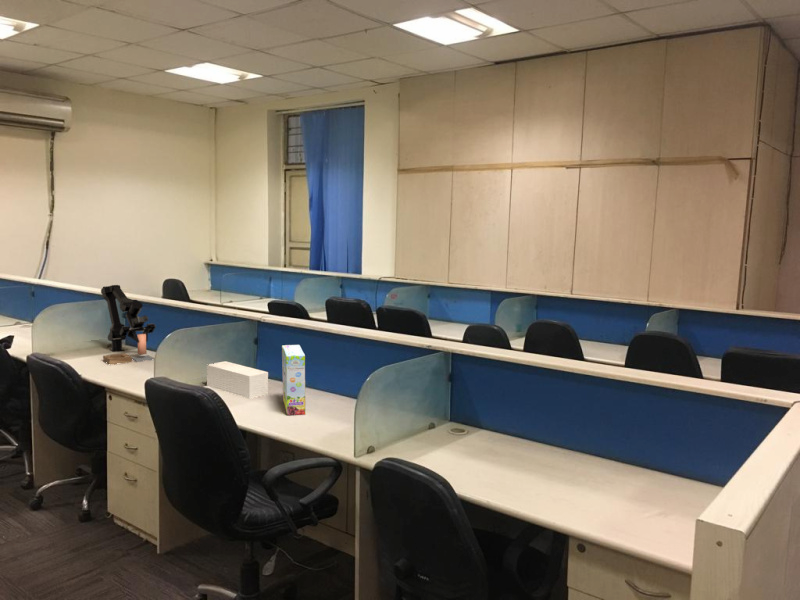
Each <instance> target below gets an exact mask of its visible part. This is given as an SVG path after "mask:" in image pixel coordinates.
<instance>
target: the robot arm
mask: <svg viewBox="0 0 800 600" xmlns="http://www.w3.org/2000/svg"><path fill="white" fill-rule="evenodd" d="M100 294H101V295H102V298H103V299H104V300H105V301H106V304H107V309H108V313H109V317H110V318H109V319H110V321H111V322H110V323H111V326H110V328H109V333H108V335H107V340H108V341H109V342H111V348H110V349H109V350H110V351H111V352H121V351H125V349H124V348H123V341H125V340H126V338H127V337H129V338H131V339H132V340H134V341H135V342H136V343H137V344H138V343H139V339H138V337H137V333H136V332H142V334H146V343H147V342H148V341H149V340H148V339H149V336H148V335H149V334H153V333H154V331H155V329H156V327H157V326H156V325H155V323H147V322H148V321H149V317H148V316H147V315H143V316H138V315H139V314H140V313H141V311H142V308H143V307H144V305H143V303H142V302H140V301H138V299H131V298H128V297H127V296H126V293H124V291H123V290H122V288H121V286H120V284H119V285H118V284H112V285H108V286H107V285H106V286H102V287H101V289H100ZM116 300H117V301H118V302H119V309H120V311H121V312H122V313H125V316H124V318H125V319H127V321H128V326H127V325H126V326H125V324H123V323H122V322H121V318H120V315H119V310H118V305H117V301H116ZM145 323H147V324H146V325H145ZM144 325H145V326H144Z"/></svg>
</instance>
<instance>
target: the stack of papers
mask: <svg viewBox="0 0 800 600" xmlns="http://www.w3.org/2000/svg"><path fill="white" fill-rule="evenodd" d="M207 365H208V364H207ZM207 365H206V387H209V388H213V389H216V390H218V389H219V390H220V391H222V392H225V391H226V392H225V393H228V392H229V394H231V393H233V394H232V395H235V394H236V395H235V396H238V395H239V396H238V397H241V396H242V397H241V398H244V397H245V399H248V400H251V398H252V399H254V397H256V398H259V397H258V396H260V397H263V396H262V395H264V396H267V395H269V380H268V378H269V372H268V371H265V370H261V369H257V368H253V367H249V366H245V365H243V364H238V363H234V362H230V361H220V362H219V361H218V362H214V364H213V363H209V365H208V366H207ZM207 374H208V375H207ZM219 390H218V391H219ZM266 394H267V395H266Z"/></svg>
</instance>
